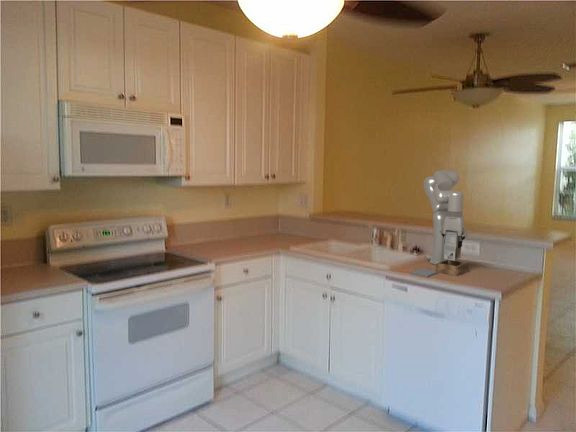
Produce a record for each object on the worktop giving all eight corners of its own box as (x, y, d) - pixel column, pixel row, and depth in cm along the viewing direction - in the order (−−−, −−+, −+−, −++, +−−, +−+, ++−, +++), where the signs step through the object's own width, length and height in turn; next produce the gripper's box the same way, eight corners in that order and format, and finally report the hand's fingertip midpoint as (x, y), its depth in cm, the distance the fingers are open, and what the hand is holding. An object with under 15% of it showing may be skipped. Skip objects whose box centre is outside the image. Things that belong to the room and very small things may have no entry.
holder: (435, 272, 245) (436, 263, 244) (446, 268, 255) (446, 259, 255) (457, 276, 237) (458, 266, 236) (467, 271, 247) (468, 262, 246)
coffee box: (449, 256, 251) (450, 228, 249) (460, 258, 247) (462, 229, 245) (443, 259, 244) (445, 230, 242) (455, 260, 240) (457, 231, 238)
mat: (410, 273, 240) (410, 272, 240) (420, 270, 249) (420, 268, 249) (427, 277, 233) (428, 275, 233) (437, 273, 242) (437, 271, 242)
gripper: (436, 213, 246) (434, 245, 248) (468, 216, 234) (466, 250, 236) (442, 212, 251) (440, 243, 253) (473, 215, 240) (471, 248, 242)
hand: (452, 246), depth 245 cm, fingers closed on coffee box, 6 cm apart
